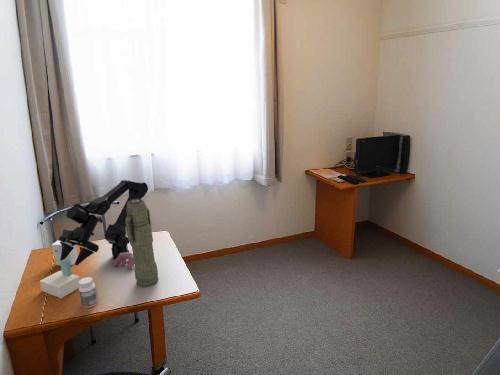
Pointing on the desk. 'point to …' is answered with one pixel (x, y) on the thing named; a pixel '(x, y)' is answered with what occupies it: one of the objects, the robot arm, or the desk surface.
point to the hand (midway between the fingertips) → (68, 263)
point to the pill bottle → (88, 292)
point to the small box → (58, 249)
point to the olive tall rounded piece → (141, 242)
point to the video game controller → (122, 259)
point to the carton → (61, 289)
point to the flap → (61, 276)
